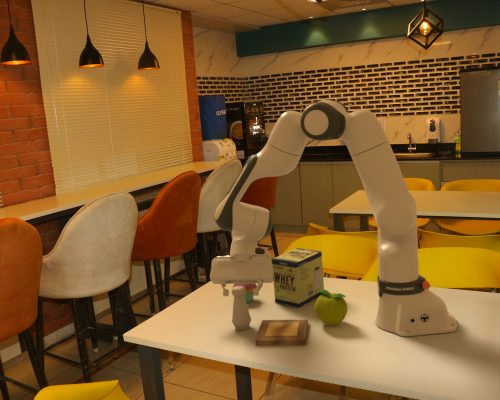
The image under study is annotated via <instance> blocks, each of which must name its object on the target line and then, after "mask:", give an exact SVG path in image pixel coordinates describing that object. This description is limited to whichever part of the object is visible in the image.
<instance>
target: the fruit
mask: <svg viewBox="0 0 500 400" xmlns="http://www.w3.org/2000/svg"><path fill="white" fill-rule="evenodd" d="M318 292H321V293H323V294H322V295H320V296H319V297H317V298H316V301H315V304H314V313H315V316H316V317H317V318H318V319H319V321H320V322H322V323H323V324H324V325H326V326H332V327H333V326H334V327H335V326H337V325H338V324H340V323H342V322H343V321H344V319H345V318H346V316H347V313H348V303H347V302H346V300H345V298H346V297H347V296H346V295H345V294H343V293H331V292H330V291H329V290H326V289H325V288H324V289H323V290H320V291H318Z"/></svg>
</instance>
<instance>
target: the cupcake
mask: <svg viewBox="0 0 500 400" xmlns="http://www.w3.org/2000/svg"><path fill="white" fill-rule="evenodd" d="M236 286H243V287H245V289H246V294H245V295H244V296H245V300H246V303H250V302H252V301H253V300H254V297H255V296H254V295H253V288H256V287H257V286H258V284H257V283H239V284H232V288H233V287H236Z"/></svg>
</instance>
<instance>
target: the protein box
mask: <svg viewBox="0 0 500 400" xmlns="http://www.w3.org/2000/svg"><path fill="white" fill-rule="evenodd" d="M322 254H323V252H322V251H320V250H314V249H313V250H312V249H307V248H301V247H297V248H295V249H292V250H289V251H287V252H286V253H283V254H281V255H278V256H276V257H273V258H271V262H272V264H273V269H274V281H273V290H274V291H273V292H274V302H275V303H276V304H282V305H285V306H289V307H295V308H298V309H299V308H301V307H303V306H305V305H306V304H308V303H310V302H312V301H314V300H316V299H318V297H319V296H320V295H322V294H323V293H321V292H318V291H320V290H323V289H324V290H325V284H324V267H323V255H322Z"/></svg>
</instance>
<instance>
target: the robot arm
mask: <svg viewBox="0 0 500 400" xmlns="http://www.w3.org/2000/svg"><path fill="white" fill-rule="evenodd" d="M386 134H387V133H385V131H384V129H383V127H382V124H381V123H380V121H379V120H378V118H377V117H376V115H375V114H374V113H373V112H372V111H370V110H368V109H359V110H358V109H357V110H354V111H352V112H349V110H348V108H347V107H346V105H344V104H343V103H342V102H341V101H338V100H335V99H334V100H333V99H323V100H318V101H316V102H313V103H310V104H309V105H308V106H307V107H305V108H304V110H303V112H299V111H296V110H287V111H285V112H283V113H282V114H281V115H280V116H279V118H278V119H277V120H276V123H275V124H274V126H273V128H272V130H271V132H270V134H269V137H268V140H267V142H266V144H265V145H264V147H263V148H262V149H261V150H260V151H258V153H255V154H252V155H250V156H249V157H248V159H247V160H246V162H244V164H243V166H242V167H241V169H240V171H239V172H238V174H237V176H236V178H235V179H234V181H233V182H232V184H231V185H230V187H229V190H228V191H227V192H226V194H225V195H224V197H223V198H222V200H221V201H220V202H219V204H218V205H217V207H216V210H215V212H214V216H213V217H214V219H213V220H214V222H215V223H216V225H217V227H218V228H219V229H220V230H221V231H224V232H225V231H227V232H231V238H232V241H231V244H230V251H229V255H222V256H221V255H218V256H216V257H214V258H213V259H212V260H211V268H210V275H209V279H210V281H211V283H212V284H213V285H221V288H222V296H223V297H229V295H230V290H229V289H228V288H226V287H227V285H229V284H230V285H234V284H239V283H255V284H257V287H256V288H253V295H254V296H253V297H255V296H256V297H257V296H259V294H260V291H261V289H262V288H263V286H264V285H263V284H271V283H274V269H273V264H272V257H271V256H272V255H271V253H270V251H269V249H267V248H264V247H262V246H261V247H259V246H258V243H259V242H258V241H262V240H263V239H265V238H266V237H268V236H269V235H271V232H272V230H273V228H274V227H273V225H274V217H273V214H272V212H271V211H270V210H269V209H267V208H266V207H262V206H259V205H253V204H251V203H250V204H249V203H245V202H242V201H241V199H242V198H243V197H244V194H245V193H246V192H247V190H248V188H249V187H250V185H251V184H252V183H253V182H255V181H256V180H258V179H263V178H271V177H282V176H285V175H288V174H289V173H291V172H293V171H294V170H295V169H296V167H297V166H298V165H299V161H300V160H301V157H302V155H303V153H304V150H305V147H306V145H307V144H308V141H309V142H310V140H313V141H318V142H324V141H332V140H334V141H335V140H339V139H340V140H341V141H343V142H344V144H345V146H346V148H347V150H348V152H349V155H350V156H351V159H352V162H353V164H354V166H355V169H356V172H357V173H358V176H359V178H360V180H361V183H362V186H363V189H364V193H365V196H366V199H367V202H368V203H369V204H368V205H369V207H370V209H371V212H372V215H373V218H374V220H375V223H376V226H377V259H378V275H377V293H378V306H377V313H376V318H375V321H374V322H375V324H376V326H377V327H379V328H380V329H382V330H384V331H387V332H391V333H395V334H397V335H398V336H401V337H413V336H414V337H415V336H424V335H434V334H446V333H454V332H456V330H457V329H458V324H457V323H458V322H457V319H456V317H455V316H454V315H453V314H452V313H450V312H449V311H448V307H447V305H446V302H445V301H444V300H443V299H442V297H440V296H439V295H437V294H436V293H434V292H433V291H431V290H430V288H431V284H430V281H428V280H427V279H426V278H425V277H424V276H423V275H422V274H420V273H419V245H418V244H419V243H418V212H417V211H418V210H417V209H418V208H417V202H416V200H415V197H414V196H413V194H412V193H410V192H409V189H408V187H407V184H406V181H405V179H404V175H403V172H402V171H401V168H400V167H401V166H400V165H399V163H398V161H397V157H396V155H395V153H394V151H393V149H392V146H391V144H390V142H389V138H388V136H387V135H386Z"/></svg>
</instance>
